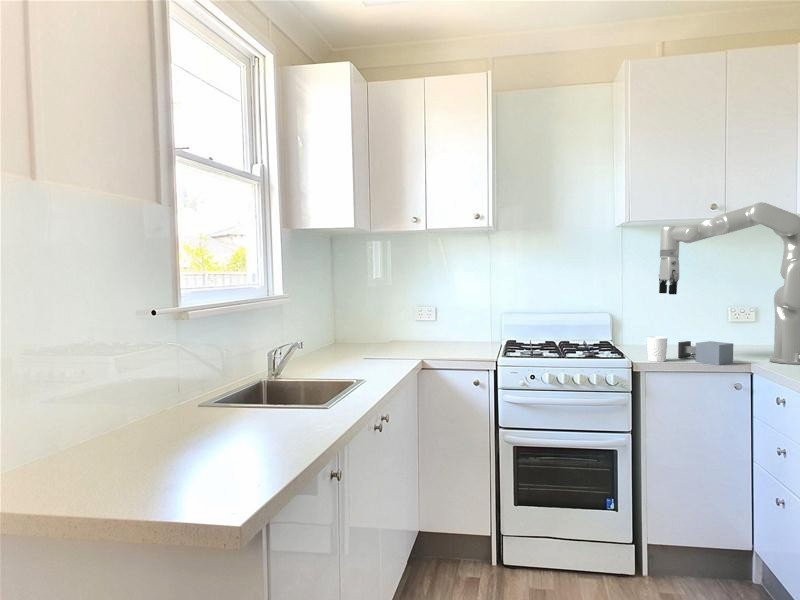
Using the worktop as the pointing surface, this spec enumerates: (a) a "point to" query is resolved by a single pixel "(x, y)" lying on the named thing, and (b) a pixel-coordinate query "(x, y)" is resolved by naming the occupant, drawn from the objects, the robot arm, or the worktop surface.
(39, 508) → the worktop surface
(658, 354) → the white cup
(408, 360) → the worktop surface
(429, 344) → the worktop surface
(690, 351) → the plunger
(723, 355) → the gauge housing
